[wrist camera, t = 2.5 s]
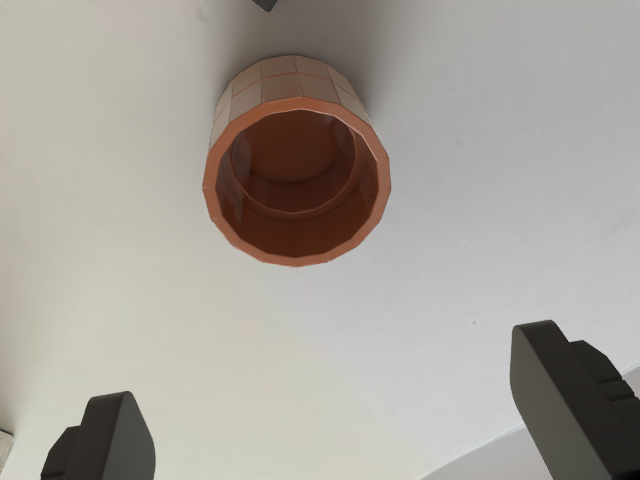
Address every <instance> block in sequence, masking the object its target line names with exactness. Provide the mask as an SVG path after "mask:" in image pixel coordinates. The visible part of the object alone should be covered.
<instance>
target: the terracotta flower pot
mask: <svg viewBox="0 0 640 480" xmlns="http://www.w3.org/2000/svg"><path fill="white" fill-rule="evenodd" d="M202 187H203V188H202V190H203V193H204V197H205V201H206V204H207V208H208V212H209V215H210V219H211V220H212V222H213V223H214V224H215V226H216V227H217V228H218V229H219V231H220V232H221V233H222V234H223V235H224V237H225V238H226V239H227V240H228V242H229V243H230V244H231V245H233V247H235V248H237V249H239V250H240V251H242V252H244V253H246V254H248V255H249V256H251V257H253V258H255V259H257V260H258V261H260V262H263V263H269V264H275V265H282V266H288V267H302V266H308V265H314V264H320V263H326V262H328V261H331V260H333V259H335V258H337V257H339V256H341V255H342V254H344V253H346V252H348V251H350V250H352V249H354V248H355V247H357V246H358V245H359V244H360V243H361V242H362V241H363V240H364V239H365V238H366V237H367V235H368V234H369V233H370V232H371V231H372V230H373V229H374V228H375V226H376V225H377V224H378V223H379V222H380V220H381V218H382V215H383V212H384V209H385V206H386V203H387V201H388V198H389V195H390V192H391V179H390V167H389V157H388V154H387V152H386V150H385V148H384V146H383V144H382V142H381V140H380V138H379V136H378V134H377V132H376V130H375V128H374V126H373V124H372V122H371V120H370V118H369V116H368V114H367V112H366V110H365V108H364V106H363V104H362V102H361V100H360V99H359V97H358V95H357V93H356V92H355V90H354V88H353V86H352V85H351V83H350V81H348V79H347V78H345V77H344V76H343V75H341V74H340V73H339V72H337V71H336V70H335V69H333V68H332V67H331V66H329V65H328V64H327V63H324V62H323V61H319V60H315V59H311V58H307V57H303V56H299V55H286V56H280V57H274V58H268V59H263V60H262V61H261V60H260V61H258V62H256V63H255V64H253V65H252V66H250V67H249V68H247V69H245V70H244V71H242V72H241V73H239V74H238V75H236V76H235V78H233V79H232V81H231V82H230V84H229V85H228V87H227V88H226V90H225V91H224V93H223V94H222V96H221V97H220V99H219V100H218V103H217V105H216V111H215V116H214V122H213V127H212V133H211V139H210V144H209V150H208V155H207V161H206V167H205V173H204V178H203V184H202Z"/></svg>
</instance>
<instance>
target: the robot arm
mask: <svg viewBox="0 0 640 480" xmlns="http://www.w3.org/2000/svg"><path fill="white" fill-rule="evenodd" d="M510 385H511V391H512V395H513V398H514V401H515V404H516V406H517V409H518V411H519V413H520V415H521V416H522V418H523V420H524V422H525V424H526V426H527V428H528V430H529V432H530V434H531V436H532V438H533V440H534V442H535V444H536V446H537V448H538V450H539V452H540V454H541V456H542V458H543V460H544V462H545V464H546V466H547V468H548V470H549V472H550V474H551V476H552V477H553V479H554V480H640V400H639V398H638V397H635V395H634V392H633V391H632V389H631V388H630V387H629V385H628V384H627V383H626V381H625V380H622V376H621V375H620V373H619V372H618V371H617V369H616V368H615V367H614V365H613V364H612V363H611V361H610V360H609V359H608V357H607V356H606V355H604V354H603V353H601V352H600V351H598V350H597V349H595V348H594V347H593V346H591V345H590V344H588V343H587V342H585V341H584V340H580V341H574V342H568V340H567V339H566V337H565V336H564V334H563V333H562V331H561V330H560V329H559V327H558V326H557V324H556V323H555V322H554V321H552V320H544V321H539V322H533V323H527V324H521V325H516V326H514V327H513V330H512V344H511V364H510ZM155 461H156V459H155V448H154V443H153V439H152V437H151V434H150V432H149V430H148V428H147V425H146V423H145V421H144V418H143V416H142V414H141V412H140V409H139V407H138V405H137V403H136V400H135V398H134V396H133V394H132V393H131V392H130V391H124V392H119V393H113V394H107V395H101V396H95V397H92V398H91V399H90V400H89V401H88V404H87V406H86V409H85V413H84V416H83V419H82V422H81V425H80V426H74V427H68V428H67V429H66V430H65V431H64V433H63V434H62V435H61V436H60V438H59V439H58V440H57V442H56V443H55V444H54V445H53V447H52V448H51V449H50V451H49V453H48V456H47V459H46V461H45V464H44V467H43V470H42V472H41V480H153V478H154V472H155Z"/></svg>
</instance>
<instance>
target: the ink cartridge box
mask: <svg viewBox="0 0 640 480" xmlns="http://www.w3.org/2000/svg"><path fill="white" fill-rule="evenodd" d="M13 443H14V437H13V436H12V435H9V434H7V433H4V432H2V431H0V475H1V472H2V470H3V468H4V465H5V463H6V461H7V458H8V456H9V454H10V452H11V449H12V446H13Z"/></svg>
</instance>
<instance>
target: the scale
mask: <svg viewBox="0 0 640 480" xmlns="http://www.w3.org/2000/svg"><path fill="white" fill-rule="evenodd" d="M252 1H254V2H255V3H256V4H257V5H259V6H260V7H261V8H263V9H264V10H265V11H267V12H270V11H271V9H272V8H273V6H274V5H275V3H276V2H277V0H252Z"/></svg>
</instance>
